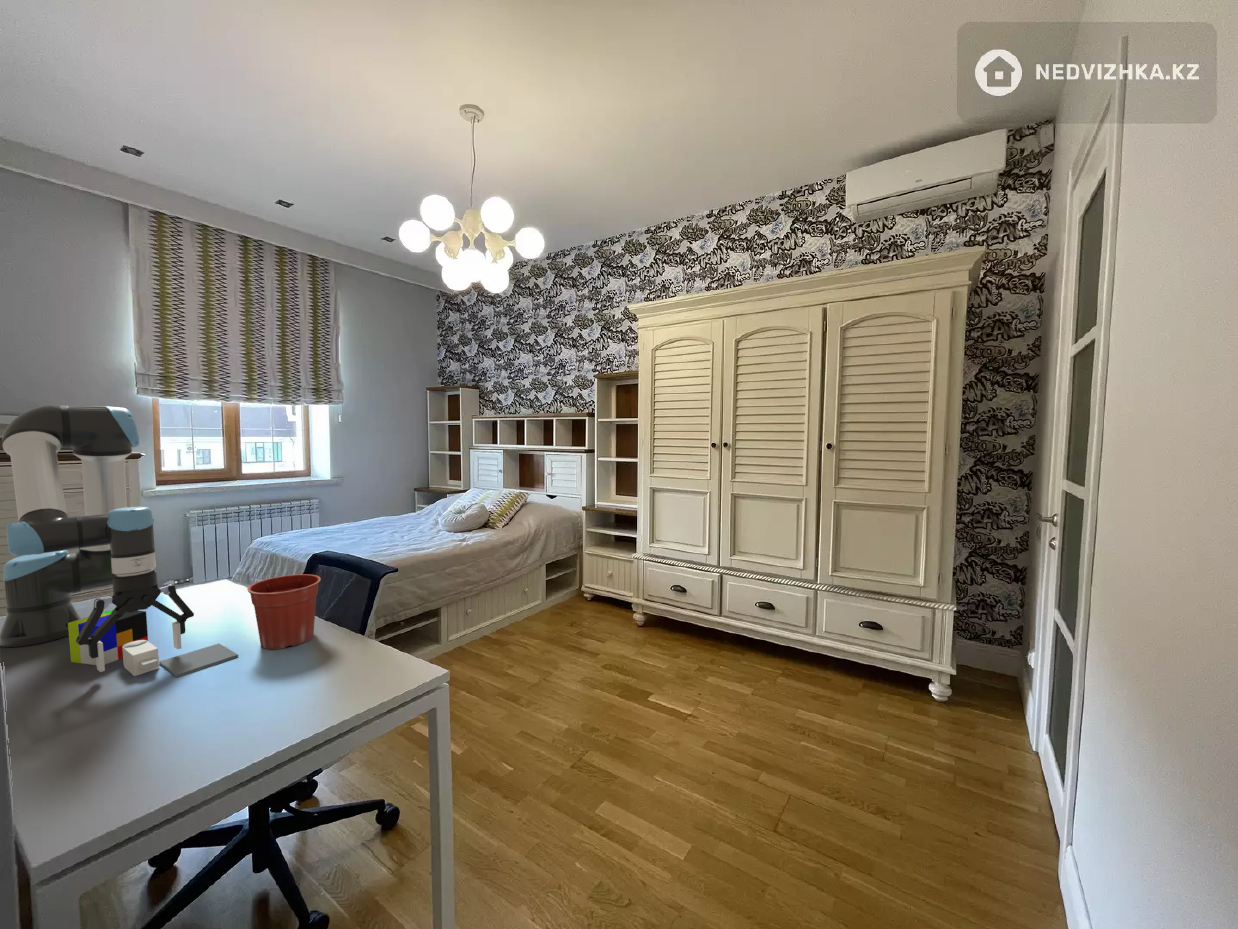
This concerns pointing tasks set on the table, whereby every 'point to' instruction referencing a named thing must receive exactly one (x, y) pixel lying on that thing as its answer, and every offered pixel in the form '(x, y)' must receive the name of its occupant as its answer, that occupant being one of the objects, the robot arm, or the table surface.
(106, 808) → the table surface
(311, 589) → the flower pot
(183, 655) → the coaster
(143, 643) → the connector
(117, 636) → the puzzle toy
